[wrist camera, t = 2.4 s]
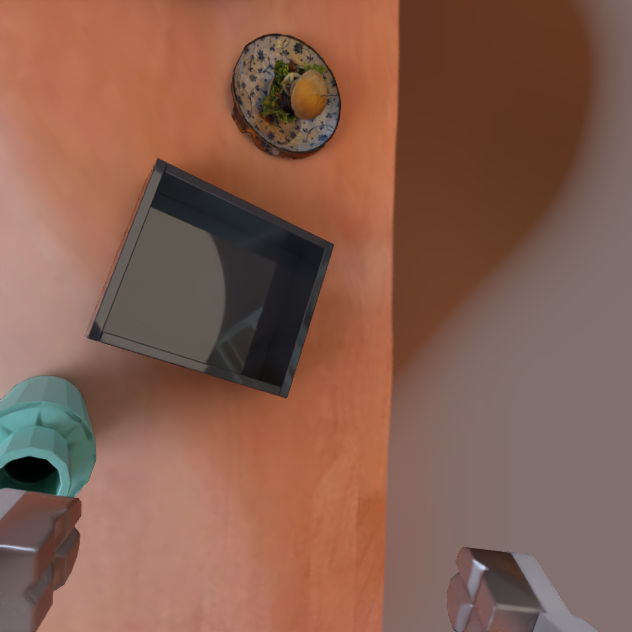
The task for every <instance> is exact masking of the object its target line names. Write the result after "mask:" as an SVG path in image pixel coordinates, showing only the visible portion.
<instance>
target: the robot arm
mask: <svg viewBox="0 0 632 632" xmlns="http://www.w3.org/2000/svg"><path fill="white" fill-rule="evenodd" d="M80 517H81V501H80V500H79V498H73V497H66V496H60V495H53V494H46V493H40V492H33V491H30V492H29V491H24V490H17V489H10V488H4V489H1V490H0V632H36V631H37V629H38V627H39V626H40V624H41V622H42V621H43V619H44V617H45V616H46V614H47V612H48V611H49V609H50V607H51V606H52V604H53V591H55V590H56V589H58V588H59V587H61V586H63V585H64V584H65V582H66V580H67V579H68V577H69V575H70V573H71V571H72V569H73V566H74V563H75V561H76V558H77V554H78V550H79V545H80V533H79V532H78V530H77V529H76V528H75V525H76V523H77V521H78V520H79V518H80ZM456 564H457V567H458V569H459V572H458V573H457V574H456V575H455V576H453V577H452V578H451V579H450V584H449V587H448V591H447V609H448V615H449V619H450V622H451V625H452V628H453V629H454V630H455V631H456V632H598V631H597V630H595V629H594V628H593V627H591V626H590V625H589V624H587V623H586V622H585V621H584V620H582V619H581V618H579V617H574V616H572V615H571V614H570V612H569V611H568V609H567V608H566V606H565V604H564V603H563V601H562V600H561V598H560V597H559V595H558V594H557V592H556V590H555V589H554V587H553V586H552V584H551V583H550V581H549V579H548V578H547V576H546V575H545V573H544V572H543V570H542V568H541V567H540V565H539V564H538V562H537V561H536V559H535V558H534V557H533V556H532V555H530V554H528V553H517V552H501V551H493V550H485V549H476V548H468V547H462V548H461V550H460V551H459V553H458V556H457V559H456Z"/></svg>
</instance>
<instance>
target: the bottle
mask: <svg viewBox="0 0 632 632" xmlns="http://www.w3.org/2000/svg"><path fill="white" fill-rule="evenodd" d="M95 462H96V445H95V436H94V433H93V429H92V426H91V422H90V418H89V415H88V411H87V407H86V404H85V401H84V399H83V397H82V395H81V393H80V392H79V390H78V389H77V388H76V387H75V386H74V385H73V384H72V383H70V382H68V381H67V380H64V379H62V378H59V377H55V376H37V377H33V378H30V379H27V380H25V381H23V382H21V383H19V384H17V385H16V386H15V387H14V388H13V389H11V390H10V392H9V393H8V394H7V395H5V396H4V398H3V399H2V400H1V401H0V490H1V489H4V488H10V489H17V490H24V491H29V492H30V491H33V492H40V493H46V494H53V495H60V496H66V497H73V498H74V497H75V496H76V495H77V493H78V492H79V491H80V490H81V489H82V488H83V487H84V485H85V484H86V483H87V482H88V480H89V478H90V475H91V472H92V470H93V467H94V464H95Z"/></svg>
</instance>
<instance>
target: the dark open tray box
mask: <svg viewBox="0 0 632 632" xmlns="http://www.w3.org/2000/svg"><path fill="white" fill-rule="evenodd" d="M333 247H334V244H332V243H330V242H328V241H326V240H324V239H322V238H320V237H318V236H316V235H314V234H312V233H310V232H308V231H306V230H303V229H301V228H299V227H297V226H295V225H293V224H291V223H289V222H287V221H285V220H283V219H281V218H279V217H277V216H275V215H273V214H271V213H269V212H267V211H265V210H263V209H261V208H259V207H257V206H254V205H252V204H250V203H248V202H246V201H244V200H242V199H240V198H238V197H236V196H234V195H232V194H230V193H228V192H226V191H224V190H222V189H220V188H218V187H216V186H214V185H212V184H210V183H207V182H205V181H203V180H201V179H199V178H197V177H195V176H193V175H191V174H189V173H187V172H185V171H183V170H181V169H179V168H177V167H175V166H173V165H171V164H167V162H165V161H163V160H161V159H157V160H156V162H155V164H154V166H153V168H152V169H151V171H150V173H149V175H148V177H147V178H146V180H145V183H144V185H143V188H142V190H141V193H140V195H139V198H138V200H137V203H136V206H135V208H134V211H133V213H132V216H131V218H130V221H129V223H128V226H127V228H126V231H125V234H124V236H123V239H122V241H121V244H120V246H119V249H118V251H117V254H116V256H115V259H114V262H113V264H112V267H111V269H110V272H109V274H108V277H107V279H106V282H105V284H104V287H103V290H102V292H101V295H100V297H99V300H98V302H97V305H96V307H95V310H94V312H93V315H92V318H91V320H90V323H89V325H88V328H87V330H86V333H85V335H84V337H86V338H88V339H92V340H95V341H99V342H102V343H105V344H108V345H111V346H115V347H118V348H121V349H125V350H128V351H131V352H135V353H138V354H141V355H145V356H148V357H151V358H154V359H158V360H161V361H164V362H168V363H171V364H174V365H178V366H181V367H184V368H188V369H191V370H194V371H197V372H201V373H204V374H207V375H211V376H214V377H217V378H221V379H224V380H227V381H231V382H234V383H237V384H240V385H244V386H247V387H250V388H254V389H257V390H260V391H264V392H267V393H270V394H274V395H277V396H280V397H284V398H287V397H288V393H289V390H290V387H291V384H292V380H293V377H294V374H295V371H296V367H297V364H298V361H299V358H300V354H301V351H302V348H303V345H304V341H305V338H306V335H307V332H308V328H309V325H310V322H311V319H312V315H313V312H314V309H315V306H316V302H317V299H318V296H319V293H320V289H321V286H322V283H323V280H324V276H325V273H326V270H327V267H328V263H329V260H330V257H331V254H332V250H333Z"/></svg>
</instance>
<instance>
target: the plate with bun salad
mask: <svg viewBox="0 0 632 632" xmlns="http://www.w3.org/2000/svg"><path fill="white" fill-rule="evenodd" d="M231 91H232V95H233V99H234V108H233V112H232V118H233V119H234V121H235V122H236V123H237V125H238V127H239V129H240V131H241V132H242V133H244V132H245V131H247V132H251V133H252V135H253V138H254V141H255V143H256V145H257V146H258V147H259V148H260V149H261V150H263V151H267V152H268V153H269V154H270V155H278V156H281V157H289V158H293V159H302V158H305V157H307V156H309V155H311V154H314V153H315V152H317V151H319V150H320V149H321V148H323V147H324V146H325V144H326V143H327V142H328V141H329V140H330V139H331V138H332V136H333V135H334V133H335V131H336V129H337V126H338V123H339V120H340V112H341V99H340V93H339V90H338V87H337V83H336V80H335V78H334V76H333V73H332V72H331V70H330V69H329V67H328V66H327V64H326V63H325V61H324V60H323V58H322V57H321V56H320V55H319V54H318V53H317V52H316V51H315V50H314V49H313V48H312V47H311V46H309V45H307V44H306V43H305V42H303V41H301V40H299V39H296V38H294V37H292V36H288V35H282V34H268V35H263V36H261V37H259V38H257V39H255V40H253V41H252V42H250V43H248V44H247V45H246V46H245V47H244V49H243V52H242V54H241V56H240V58H239V60H238V62H237V64H236V66H235V68H234V74H233V78H232V80H231Z"/></svg>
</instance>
